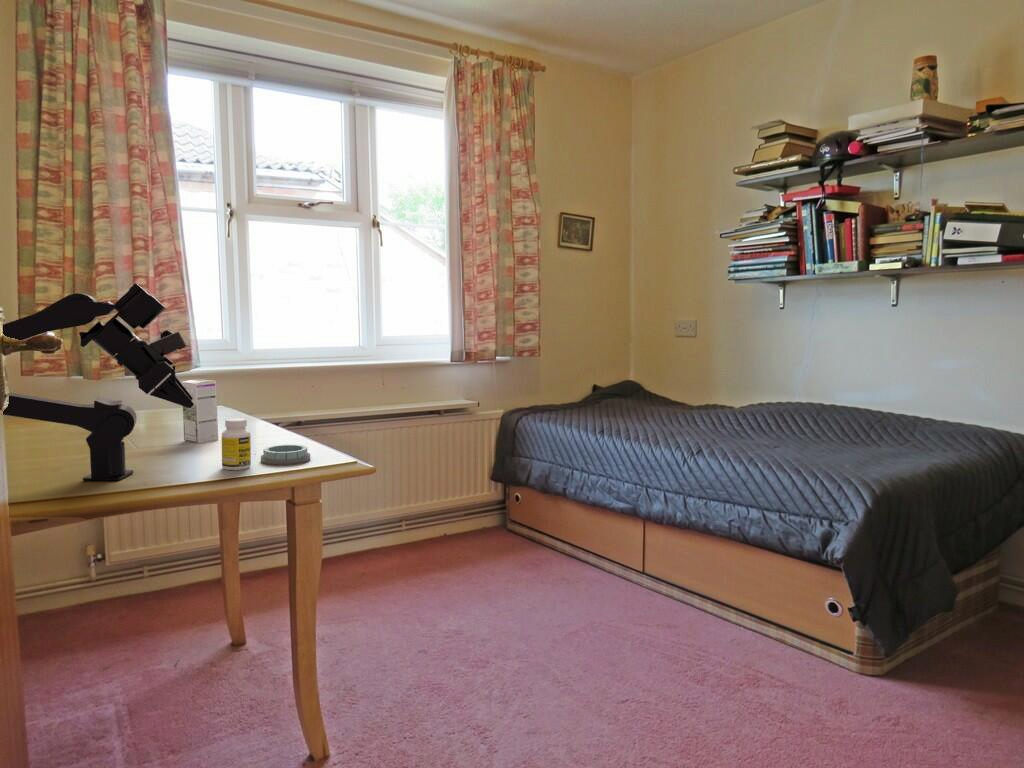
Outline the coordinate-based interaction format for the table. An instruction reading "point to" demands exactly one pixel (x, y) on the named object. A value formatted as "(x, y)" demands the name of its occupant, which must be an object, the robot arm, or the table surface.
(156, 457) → the table surface
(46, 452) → the table surface
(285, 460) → the socket plate
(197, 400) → the syrup box
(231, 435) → the supplement bottle
